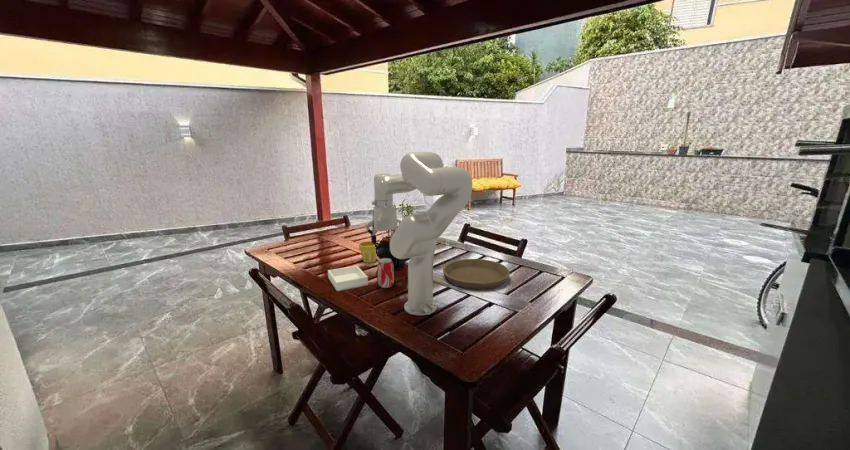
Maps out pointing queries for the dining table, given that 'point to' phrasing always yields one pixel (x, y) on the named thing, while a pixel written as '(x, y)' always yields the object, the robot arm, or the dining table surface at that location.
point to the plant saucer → (476, 273)
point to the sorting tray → (347, 278)
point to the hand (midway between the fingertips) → (385, 242)
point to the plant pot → (368, 251)
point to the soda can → (385, 273)
